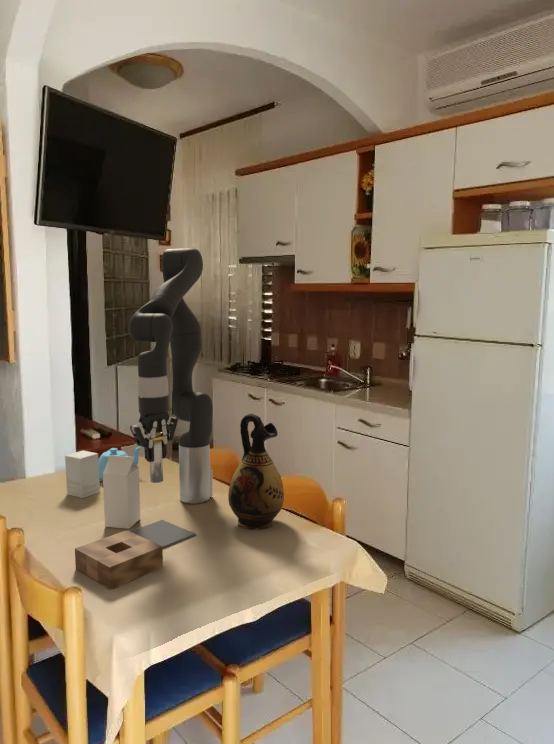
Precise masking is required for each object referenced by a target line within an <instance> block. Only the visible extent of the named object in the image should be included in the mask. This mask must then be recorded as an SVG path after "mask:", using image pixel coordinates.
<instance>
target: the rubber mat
mask: <svg viewBox="0 0 554 744" xmlns="http://www.w3.org/2000/svg"><path fill="white" fill-rule="evenodd" d="M129 531H130V532H132V533H134V534H136V535H138V536H141V537H143V538H145V539H147V540H149V541H152V542H154V543H156V544H158V545H160V546H162V547H163V549H165V548H168V547H171V546H173V545H175V544H178V543H181V542H183V541H186V540H188V539H189V538H192V537H194V536H195V537H196V535H197V534H196V532H194V531H191V530H188V529H186V528H184V527H182V526H178V525H176V524H174V523H171V522H169V521H166V520H164V519H160V520H158V521H154V522H152V523H149V524H147V525H144V526H141V527H138V528H134V529H133V530H129Z"/></svg>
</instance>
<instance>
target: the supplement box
mask: <svg viewBox="0 0 554 744" xmlns="http://www.w3.org/2000/svg"><path fill="white" fill-rule="evenodd" d="M64 460H65V479H66V480H65V481H66V494H67V495H68V496H69V495H70V496H72V497H77V498H81V499H84V498H86V497H89V496H92V495H95V494H98V493H100V492H101V485H100V483H101V481H100V480H99V453H97V452H94V451H93V452H91V451H88V450H79V451H76V452H73V453H70V454H67V455H64Z"/></svg>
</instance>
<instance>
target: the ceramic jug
mask: <svg viewBox="0 0 554 744" xmlns="http://www.w3.org/2000/svg"><path fill="white" fill-rule="evenodd" d="M251 422H252V423H253V426H254V428H253V429H252V430H251V432H249V423H251ZM239 425H240V427H239V428H240V429H239V431H240V438H241V443H242V444H241V445H242V448H243V455H242V458H241V462H240V463H239V465H238V467H237V468H236V470H235V472H234V473H233V475H232V477H231V481H230V484H229V487H228V495H227V497H228V505H229V506H230V509H231V511H232V512H233V514H234V515H235V516H236V517H237V522H238V524H239V525H240V526H241V527H243V528H245V529H247V530H251V531H252V530H263V529H268V528H270V526H272V525H273V520H274V519H275V518H276V517H277V516H278V514H279V513H280V512H281V511H282V508H283V506H284V502H285V490H284V485H283V480H282V475H281V474H280V472H279V470H278V469H277V466H276V465H275V463H274V461H273V459H272V457H270V455H269V454H268V452H267V450H266V448H265V442H266V441H267V440H269V439H272V438H276V437H278V435H279V433H278V430H277V427H276V426H275V425H274V424H273V423H272V422H269V423H268V424H265V423H263V421H262V419H261V417H260V416H258V415H256V414H254V413H248V414H246V415H244V416H243V417H242V419H241V420H240V424H239ZM250 438H251V439H252V443H251V440H250ZM271 524H272V525H271Z"/></svg>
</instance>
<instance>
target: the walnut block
mask: <svg viewBox="0 0 554 744" xmlns="http://www.w3.org/2000/svg"><path fill="white" fill-rule="evenodd" d="M130 531H131V530H127V529H125V530H123V531H120V532H118V533H115V534H113V535H110V536H106V537H104V538H103V537H102V538H100V539H98V540H95V541H92V542H89V543H87V544H83V545H81V546H77V547H75V548H74V558H75V559H74V560H75V570H77V571H78V572H80V573H81V572H82V574H83V575H85V576H87V577H88V576H89V578H90V579H92V580H93V579H94V580H93V581H95V582H97V583H99V584H100V585H102V586H104V587H106V588H107V589H109V590H113V589H115V588H117V587H119V586H122V585H124V584H126V583H129V582H131V581H134V580H136V579H138V578H140V577H142V576H146V575H147V574H149V573H152V572H154V571H157V570H160V569H162V568H163V567H164V558H163V557H164V556H163V555H164V554H163V553H164V550H163V549H164V548H163V547H162V546H160V545H158V544H156V543H154V542H152V541H149V540H147V539H145V538H143V537H141V536H138V535H136V534H134V533H132V532H130Z"/></svg>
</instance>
